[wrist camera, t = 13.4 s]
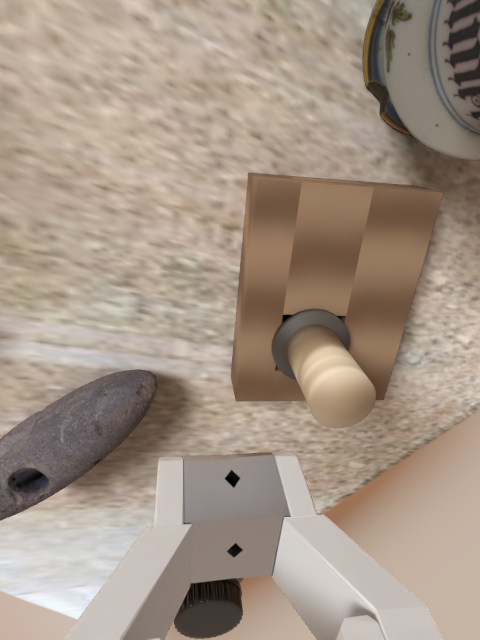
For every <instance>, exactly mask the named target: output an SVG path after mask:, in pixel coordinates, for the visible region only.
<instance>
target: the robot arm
mask: <svg viewBox="0 0 480 640" xmlns="http://www.w3.org/2000/svg"><path fill="white" fill-rule="evenodd" d="M264 576H273V580H274V581H275V583H276V584H277V585H278V587H279V588H280V590H281V591H282V592H283V594H284V595H285V596H286V598H287V599H288V601H289V602H290V603H291V605H292V606H293V607H294V609H295V610H296V611H297V612H298V614H299V616H300V617H301V618H302V620H303V621H304V622H305V624H306V625H307V626H308V628H309V629H310V631H311V632H312V633H313V634H314V636H315V637H316V639H317V640H443V638H442V636H441V634H440V632H439V630H438V628H437V626H436V624H435V622H434V620H433V618H432V616H431V614H430V612H429V610H428V608H427V606H425V605H424V604H423V603H422V602H421V601H420V600H419V599H418V598H417V597H415V596H414V595H413V594H412V593H411V592H410V591H409V590H408V589H407V588H405V587H404V586H403V585H402V584H401V583H400V582H399V581H398V580H397V579H395V578H394V577H393V576H392V575H391V574H390V573H389V572H388V571H386V570H385V569H384V568H383V567H382V566H381V565H380V564H379V563H378V562H376V561H375V560H374V559H373V558H372V557H371V556H370V555H369V554H368V553H367V552H365V551H364V550H363V549H362V548H361V547H360V546H359V545H358V544H357V543H355V542H354V541H353V540H352V539H351V538H350V537H349V536H348V535H347V534H345V533H344V532H343V531H342V530H341V529H340V528H339V527H338V526H336V525H335V524H334V523H333V522H332V521H331V520H330V519H328V517H326V516H325V515H317V512H316V509H315V506H314V503H313V500H312V497H311V494H310V491H309V489H308V486H307V483H306V480H305V477H304V474H303V471H302V468H301V465H300V462H299V460H298V457H297V454H296V453H295V452H294V451H290V452H272V453H270V452H269V453H251V454H232V455H212V456H184V459H183V456H182V457H160V458H159V462H158V474H157V490H156V505H155V520H154V526H151V527H146V528H145V530H144V531H143V532H142V534H141V535H140V536H139V538H138V539H137V541H136V542H135V543H134V545H133V546H132V547H131V549H130V550H129V551H128V553H127V554H126V555H125V557H124V558H123V559H122V561H121V562H120V563H119V565H118V566H117V567H116V569H115V570H114V572H113V573H112V574H111V576H110V577H109V578H108V580H107V581H106V582H105V584H104V585H103V586H102V588H101V589H100V590H99V592H98V593H97V594H96V596H95V597H94V598H93V600H92V601H91V603H90V604H89V605H88V607H87V608H86V609H85V611H84V612H83V613H82V615H81V616H80V617H79V619H78V620H77V621H76V623H75V624H74V625H73V627H72V628H71V630H70V631H69V632H68V634H67V635H66V636H65V638H64V639H63V640H164V639H165V637H166V635H167V633H168V631H169V629H170V627H171V625H172V623H173V621H174V619H175V617H176V615H177V613H178V611H179V609H180V607H181V604H182V602H183V600H184V598H185V596H186V594H187V592H188V590H189V588H190V583H199V582H207V581H215V580H223V579H232V578H248V577H264Z"/></svg>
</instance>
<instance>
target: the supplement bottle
mask: <svg viewBox="0 0 480 640" xmlns="http://www.w3.org/2000/svg"><path fill="white" fill-rule="evenodd" d="M243 579H244V578H232V579H223V580H215V581H207V582H199V583H190V588H189V590H188V592H187V594H186V596H185V598H184V600H183V602H182V604H181V607H180V609H179V611H178V613H177V615H176V617H175V619H174V624H175V628H176V629H177V631H178V632H180V633H181V634H182V635H184V636H187V637H190V638H201V639H203V638H211V637H216V636H219V635H222V634H224V633H227V632H229V631H230V630H232V629H233V628H234V627H236V626H237V624H239V623H240V620H241V619H242V615H243V610H242V602H241V596H242V591H241V586H240V583H241V582H242V580H243Z"/></svg>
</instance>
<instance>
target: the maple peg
mask: <svg viewBox="0 0 480 640" xmlns="http://www.w3.org/2000/svg"><path fill="white" fill-rule="evenodd" d="M349 347H350V336H349V332H348V330H347V328H346V326H345V325H344V323H343V322H342V321H341V320H340V319H339V318H338V317H337V316H336V315H335V314H333V313H331V312H329V311H326V310H322V309H307V310H303V311H300V312H297V313H295V314H293V315H285V316H284V317H283V319H282V324H281V325H280V326H279V327H278V329H277V330H276V332H275V334H274V337H273V340H272V347H271V349H272V356H273V359H274V361H275V363H276V366H277V367H278V369H279V370H280V371H281V372H282V373H283V374H284V375H286V376H287V377H289V378H291V379H294V380H297V381H298V383H299V386H300V388H301V390H302V392H303V394H304V397H305V399H306V401H307V403H308V405H309V407H310V410H311V412H312V414H313V416H314V418H315V419H316V420H317V421H318V422H319V423H320V424H322V425H324V426H326V427H329V428H344V427H348V426H351V425H354V424H356V423H358V422H359V421H361V420H362V419H363V418H364V417H366V416H367V415H368V413H369V412H370V411H371V409H372V408H373V406H374V403H375V399H376V391H375V388H374V386H373V384H372V383H371V381H370V380H369V379H368V377H367V376H366V375H365V373H364V372H363V371H362V369H361V368H360V367H359V365H358V364H357V363H356V361H355V360H354V359H353V357H352V356H351V355H350V353H349V352H348V351H349Z"/></svg>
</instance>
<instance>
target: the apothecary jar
mask: <svg viewBox="0 0 480 640" xmlns="http://www.w3.org/2000/svg"><path fill="white" fill-rule="evenodd" d="M363 74H364V80H365V85H366V87H367V88H368V89H370V90H371V91H372V93H373V94H374V95H375V96H376V97H377V98H378V99H379V101H380V115H381V117H382V118H383V119H384V120H385V121H386V122H387V123H388V124H389V125H391V126H392V127H393V128H395V129H397V130H399V131H401V132H403V133H405V134H410V135H413V136H414V137H415V138H416V139H417V140H418V141H420V142H421V143H422V144H424V145H425V146H427V147H428V148H430V149H432V150H434V151H436V152H438V153H441V154H443V155H446V156H449V157H453V158H457V159H464V160H480V0H377V2H376V4H375V6H374V8H373V10H372V13H371V16H370V19H369V22H368V26H367V29H366V34H365V39H364V46H363Z"/></svg>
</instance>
